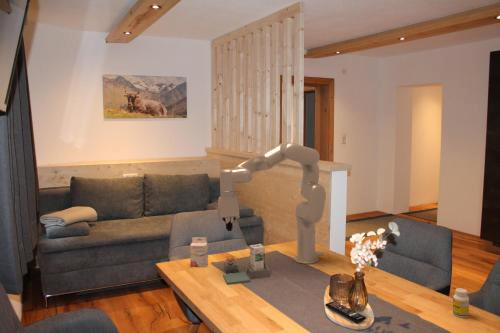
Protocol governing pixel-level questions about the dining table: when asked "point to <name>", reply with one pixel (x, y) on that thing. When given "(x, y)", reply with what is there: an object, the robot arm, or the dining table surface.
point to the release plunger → (230, 259)
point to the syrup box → (257, 257)
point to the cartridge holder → (258, 272)
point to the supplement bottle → (461, 303)
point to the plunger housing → (230, 267)
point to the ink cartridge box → (199, 252)
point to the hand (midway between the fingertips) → (229, 230)
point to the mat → (236, 278)
